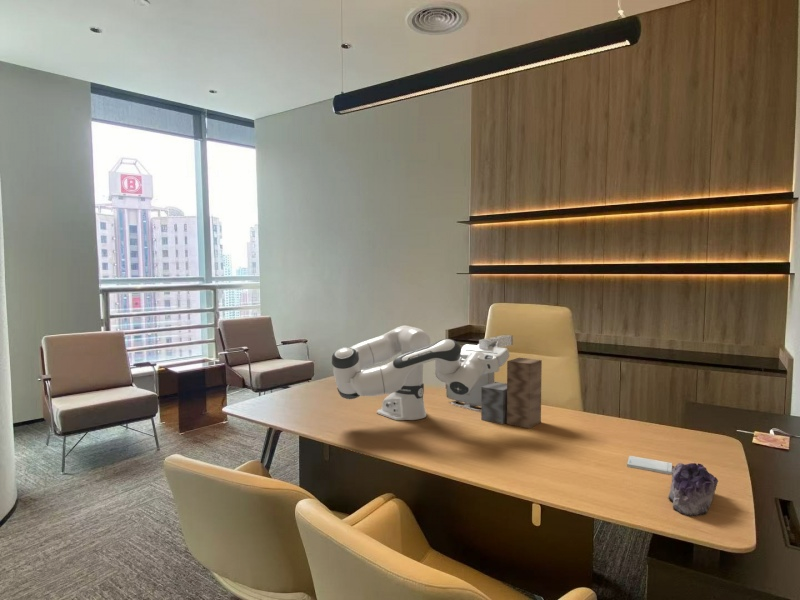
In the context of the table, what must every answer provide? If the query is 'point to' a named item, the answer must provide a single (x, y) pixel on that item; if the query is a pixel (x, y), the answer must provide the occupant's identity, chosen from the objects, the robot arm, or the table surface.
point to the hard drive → (649, 465)
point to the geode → (692, 489)
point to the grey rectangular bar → (503, 341)
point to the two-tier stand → (515, 395)
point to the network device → (471, 393)
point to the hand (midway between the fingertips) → (491, 342)
